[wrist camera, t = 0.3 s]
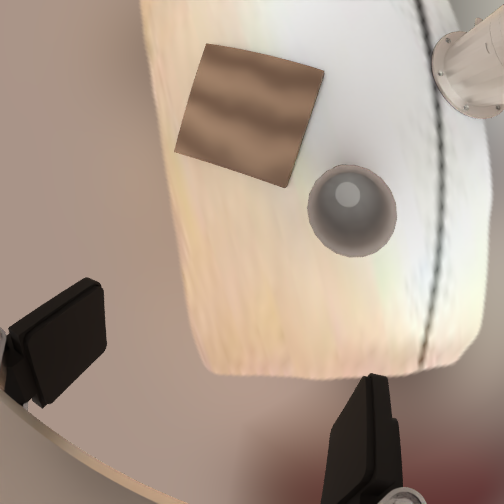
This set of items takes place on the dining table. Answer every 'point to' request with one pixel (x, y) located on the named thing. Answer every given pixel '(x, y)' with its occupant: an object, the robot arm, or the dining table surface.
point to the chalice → (352, 211)
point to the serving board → (248, 112)
